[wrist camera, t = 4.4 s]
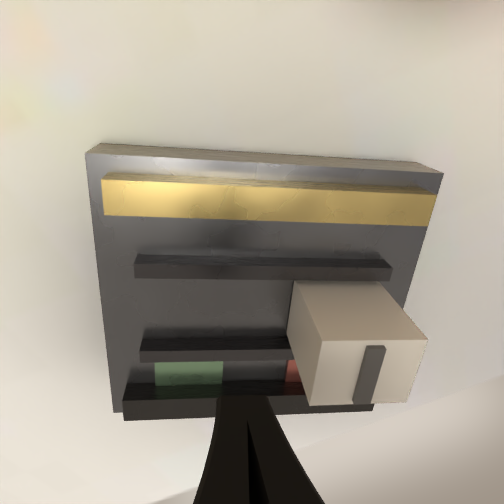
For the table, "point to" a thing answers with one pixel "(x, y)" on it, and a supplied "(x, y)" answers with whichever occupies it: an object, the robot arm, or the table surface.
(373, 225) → the breaker panel
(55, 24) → the table surface
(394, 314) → the block
